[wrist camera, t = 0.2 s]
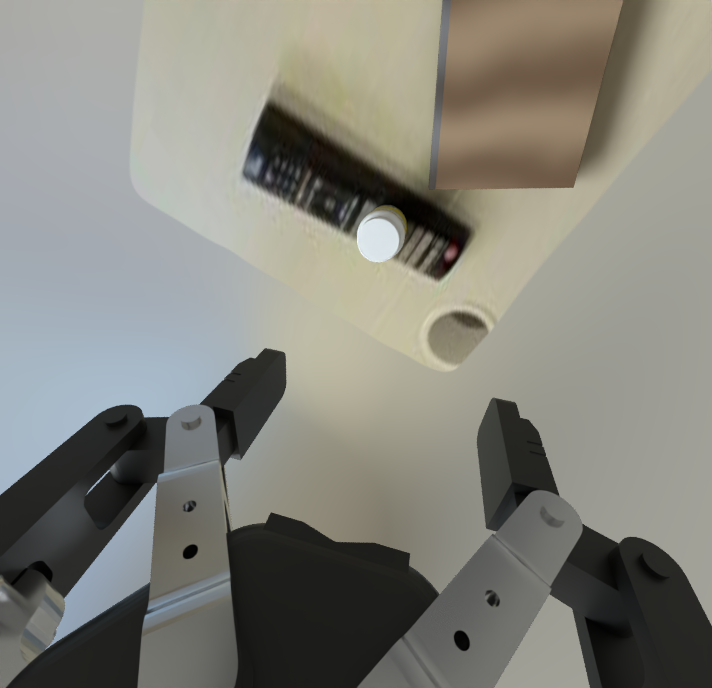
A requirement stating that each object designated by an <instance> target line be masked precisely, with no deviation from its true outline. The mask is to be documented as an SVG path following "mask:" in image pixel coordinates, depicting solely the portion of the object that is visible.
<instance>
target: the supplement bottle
mask: <svg viewBox="0 0 712 688" xmlns="http://www.w3.org/2000/svg"><path fill="white" fill-rule="evenodd" d="M406 231H407V222H406V218H405V216H404V214H403V213H402V212H401V211H400V210H399V209H398V208H396V207H394V206H392V205H382V206H379V207H377V208H375V209H374V210H373V211H372V212H371V213H369V214H368V215H367V216H366V217H365V218H364V219H363V221H362V222H361V223H360V225H359V228H358V232H357V244H358V248H359V250H360V252H361V254H362V255H363V256H364V257H365V258H367V259H368V260H370V261H373V262H384V261H387V260H389V259H390V258H392V257H393V256H395V255H396V254H397V253H398V252H399V251H400V249H401V248H402V246H403V243H404V240H405V235H406Z"/></svg>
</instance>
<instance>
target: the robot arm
mask: <svg viewBox="0 0 712 688" xmlns="http://www.w3.org/2000/svg"><path fill="white" fill-rule="evenodd" d="M285 388H286V356H285V353H284V352H281V351H277V350H272V349H267V348H265V349H264V350H263V351H262V352H261V353H260V354H259V355H258V356H257V357H256V358H255V359H254V358H249V359H247V360H245V361H243V362H241V363H239V364H238V365H237V366H236V367H235V368H234V369H233V370H232V371H231V373H230V374H229V375H227V376H226V377H225V378H224V380H223V381H222V382H221V383H220V384H219V385H218V386H217V387H216V388H215V389H214V390H213V391H212V392H211V393H210V394H209V395H208V396H207V397H206V398H205V399H204V400H203V401H202V402H201V403H200V404H199V405H190V406H186V407H184V408H181V409H179V410H177V411H176V412H174V413H173V414H172V415H171V416H170V417H147V418H144V415H143V413H142V410H141V409H140V408H139V407H137V406H134V405H120V406H115V407H112V408H109V409H107V410H105V411H103V412H101V413H100V414H98V415H97V416H96V417H94V418H93V419H92V420H91V421H89V422H88V423H87V424H86V425H85V426H83V427H82V428H81V429H80V430H79V431H77V432H76V433H75V434H74V435H73V436H71V437H70V438H69V439H68V440H67V441H65V442H64V443H63V444H62V445H60V446H59V447H58V448H57V449H56V450H54V451H53V452H52V453H51V454H50V455H48V456H47V457H46V458H45V459H43V460H42V461H41V462H40V463H39V464H37V465H36V466H35V467H34V468H33V469H32V470H30V471H29V472H28V473H27V474H25V475H24V476H23V477H22V478H21V479H19V480H18V481H17V482H16V483H14V484H13V485H12V486H11V487H10V488H8V489H7V490H6V491H5V492H4V493H2V494H1V495H0V688H494V687H495V685H496V683H497V682H498V680H499V678H500V677H501V675H502V673H503V672H504V670H505V668H506V666H507V665H508V663H509V661H510V660H511V658H512V656H513V655H514V653H515V651H516V650H517V648H518V646H519V645H520V643H521V641H522V639H523V638H524V636H525V634H526V633H527V631H528V629H529V628H530V626H531V624H532V622H533V621H534V619H535V617H536V616H537V614H538V612H539V611H540V609H541V607H542V606H543V604H544V602H545V601H546V599H547V597H548V595H549V594H550V595H552V596H553V597H555V598H557V599H558V600H560V601H561V602H563V603H564V604H566V605H567V606H569V607H571V608H572V609H573V614H574V618H575V622H576V627H577V632H578V636H579V641H580V645H581V649H582V654H583V658H584V663H585V667H586V672H587V676H588V681H589V685H590V688H712V626H711V624H710V622H709V620H708V618H707V616H706V614H705V612H704V610H703V609H702V606H701V604H700V602H699V600H698V598H697V596H696V594H695V593H694V591H693V589H692V587H691V585H690V583H689V581H688V579H687V577H686V575H685V573H684V572H683V570H682V569H681V568H680V566H679V565H678V564H677V563H676V562H675V561H674V560H673V559H672V558H671V557H670V556H669V555H668V554H667V553H666V552H664V551H663V550H662V549H660V548H659V547H658V546H656V545H654V544H653V543H651V542H648V541H646V540H644V539H641V538H637V537H627V538H624V539H623V540H622V541H621V542H620V543H617V542H615V541H613V540H611V539H609V538H607V537H605V536H603V535H601V534H600V533H598V532H596V531H594V530H592V529H590V528H589V527H587V526H585V525H584V524H582V522H581V519H580V517H579V515H578V514H577V512H576V511H575V510H574V508H573V507H572V506H571V505H570V504H569V503H568V502H566V501H565V500H564V499H562V498H561V497H560V496H559V493H558V490H557V487H556V484H555V481H554V478H553V475H552V471H551V468H550V465H549V462H548V459H547V457H546V453H545V450H544V447H542V441H541V438H540V435H539V432H538V431H537V430H536V428H535V427H534V426H533V425H532V424H531V422H530V421H529V420H527V419H523V418H520V415H519V412H518V408H517V405H516V403H515V402H511V401H506V400H502V399H497V398H492V399H491V401H490V403H489V406H488V408H487V410H486V413H485V415H484V418H483V420H482V423H481V425H480V427H479V431H478V436H477V448H478V457H479V465H480V475H481V485H482V494H483V504H484V513H485V522H486V528H487V529H490V530H493V531H497V532H496V534H495V535H494V534H492V535H491V536H490V537H489V538H488V539H487V540H486V541H485V542H484V544H483V545H482V546H481V547H480V548H479V549H478V551H477V552H476V553H475V554H474V555H473V556H472V558H471V559H470V560H469V561H468V562H467V564H466V565H465V566H464V567H463V568H462V569H461V570H460V572H459V573H458V574H457V575H456V576H455V577H454V578H453V580H452V581H451V582H450V583H449V584H448V585H447V587H446V588H445V589H444V590H443V591H442V593H441V594H439V593H438V592H437V590H436V589H435V588H434V587H433V585H432V584H431V583H430V582H429V581H428V580H427V579H426V578H425V577H424V576H423V575H421V574H420V573H419V572H418V571H416V570H415V569H413V568H412V567H410V566H409V558H410V553H407V552H403V551H400V550H397V549H393V548H390V547H386V546H383V545H380V544H376V543H352V542H351V543H350V542H348V543H347V542H335V541H333V540H331V539H329V538H328V537H326V536H325V535H323V534H322V533H320V532H318V531H317V530H315V529H314V528H312V527H310V526H309V525H307V524H306V523H304V522H302V521H298V520H295V519H291V518H288V517H285V516H281V515H278V514H274V513H271V514H270V515H269V517H268V520H267V522H266V523H259V524H252V525H248V526H243V527H241V528H238V529H235V530H233V527H232V521H231V514H230V507H229V499H228V490H227V482H226V474H225V467H224V465H225V463H226V462H227V461H228V459H229V458H230V457H231V458H234V459H238V460H241V459H242V457H243V456H244V454H245V453H246V451H247V450H248V448H249V447H250V445H251V444H252V442H253V441H254V439H255V438H256V436H257V435H258V433H259V432H260V430H261V429H262V427H263V426H264V424H265V423H266V421H267V420H268V418H269V416H270V415H271V413H272V412H273V410H274V409H275V407H276V406H277V404H278V403H279V401H280V400H281V398H282V396H283V394H284V391H285ZM108 470H110V471H109V472H108V473H107V474H106V475H105V477H104V478H103V479H102V480H101V481H100V482H99V483H98V484H97V485H96V486H95V487H94V488H93V489H92V490H91V491H90V492H89V493H88V491H89V490H90V488H91V487H92V486H93V485H94V484H95V483H96V482H97V481H98V480H99V479H100V478H101V477H102V476H103V475H104V474H105V473H106V472H107V471H108ZM155 483H157V494H156V507H155V521H154V522H155V523H154V536H153V550H152V564H151V579H150V583H148V584H147V585H145V586H143V587H142V588H140V589H139V590H137V591H136V592H134V593H133V594H131V595H130V596H128V597H126V598H125V599H123V600H122V601H120V602H118V603H117V604H115V605H114V606H112V607H111V608H109V609H107V610H106V611H104V612H103V613H101V614H100V615H98V616H97V617H95V618H93V619H92V620H90V621H89V622H87V623H86V624H84V625H82V626H81V627H79V628H78V629H77V630H75V631H73V632H71V633H70V634H68V635H67V636H65V637H64V638H62V639H61V640H59V641H57V642H56V643H55V644H53V645H51V646H50V647H49V648H47V647H48V646H49V645H50V643H51V642H52V640H53V639H54V637H55V635H56V629H57V627H58V625H59V623H60V621H61V619H62V617H63V614H64V609H65V602H64V598H65V597H66V595H67V594H68V593H69V592H70V590H71V589H72V588H73V587H74V585H75V584H76V583H77V582H78V580H79V579H80V578H81V576H82V575H83V574H84V573H85V571H86V570H87V569H88V568H89V566H90V565H91V564H92V563H93V561H94V560H95V559H96V558H97V556H98V555H99V554H100V553H101V551H102V550H103V549H104V548H105V546H106V545H107V544H108V542H109V541H110V540H111V539H112V537H113V536H114V535H115V534H116V532H117V531H118V530H119V529H120V527H121V526H122V525H123V523H124V522H125V521H126V520H127V518H128V517H129V516H130V515H131V513H132V512H133V511H134V510H135V508H136V507H137V506H138V505H139V503H140V502H141V501H142V500H143V498H144V497H145V496H146V494H147V493H148V492H149V490H150V489H151V488H152V487H153V486H154V484H155ZM87 493H88V494H87ZM86 494H87V495H86ZM46 648H47V649H46ZM45 649H46V650H45Z"/></svg>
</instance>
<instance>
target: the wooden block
mask: <svg viewBox="0 0 712 688" xmlns="http://www.w3.org/2000/svg"><path fill="white" fill-rule="evenodd" d="M622 4H623V0H443V2H442V16H441V29H440V42H439V56H438V69H437V83H436V96H435V110H434V123H433V136H432V150H431V163H430V177H429V189H436V190H444V189H510V188H574V184H575V180H576V177H577V173H578V169H579V165H580V162H581V158H582V154H583V150H584V147H585V143H586V139H587V135H588V132H589V128H590V124H591V120H592V117H593V113H594V109H595V105H596V101H597V98H598V94H599V90H600V86H601V83H602V79H603V75H604V71H605V68H606V64H607V60H608V56H609V53H610V49H611V45H612V41H613V38H614V34H615V30H616V26H617V23H618V19H619V15H620V11H621V8H622Z"/></svg>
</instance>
